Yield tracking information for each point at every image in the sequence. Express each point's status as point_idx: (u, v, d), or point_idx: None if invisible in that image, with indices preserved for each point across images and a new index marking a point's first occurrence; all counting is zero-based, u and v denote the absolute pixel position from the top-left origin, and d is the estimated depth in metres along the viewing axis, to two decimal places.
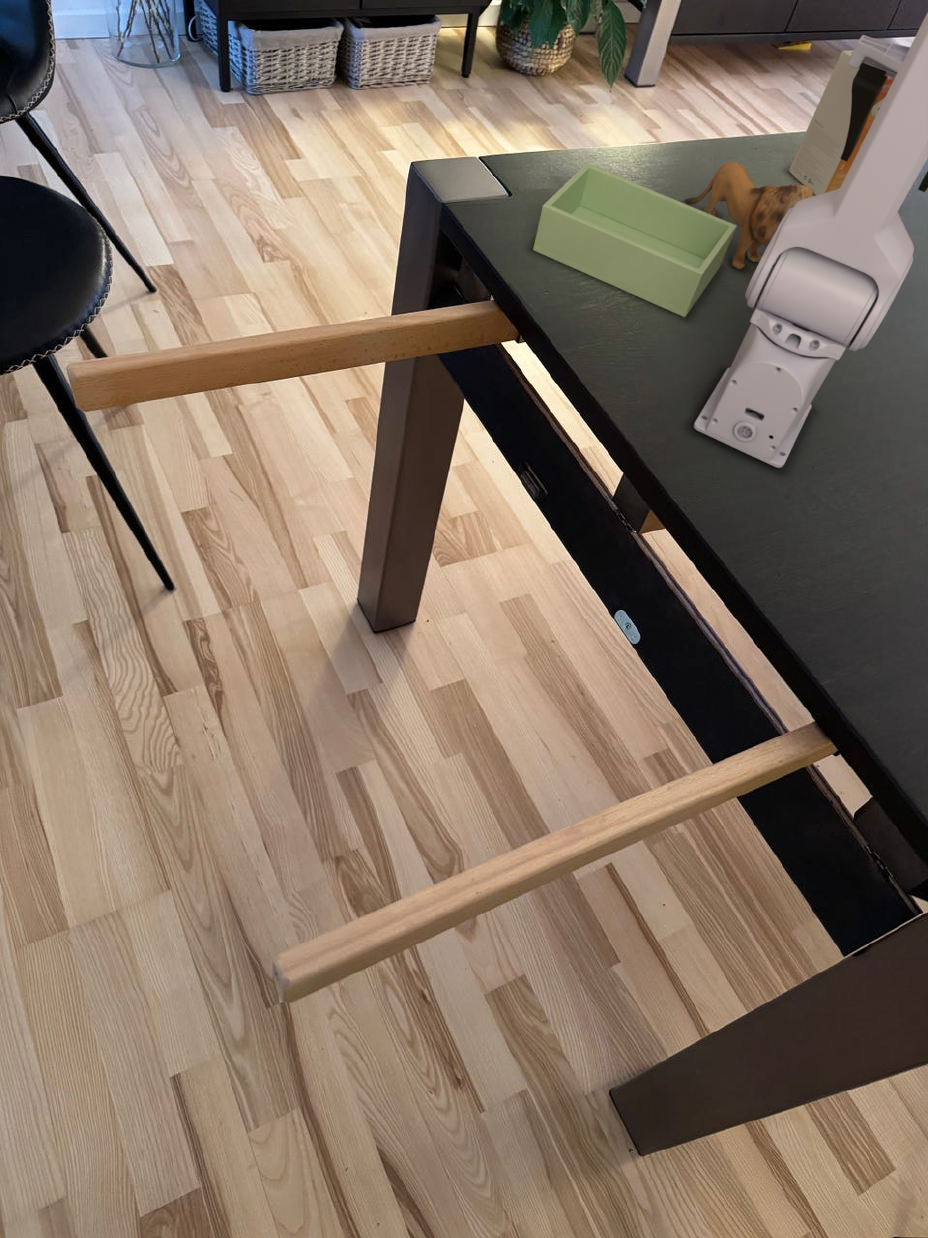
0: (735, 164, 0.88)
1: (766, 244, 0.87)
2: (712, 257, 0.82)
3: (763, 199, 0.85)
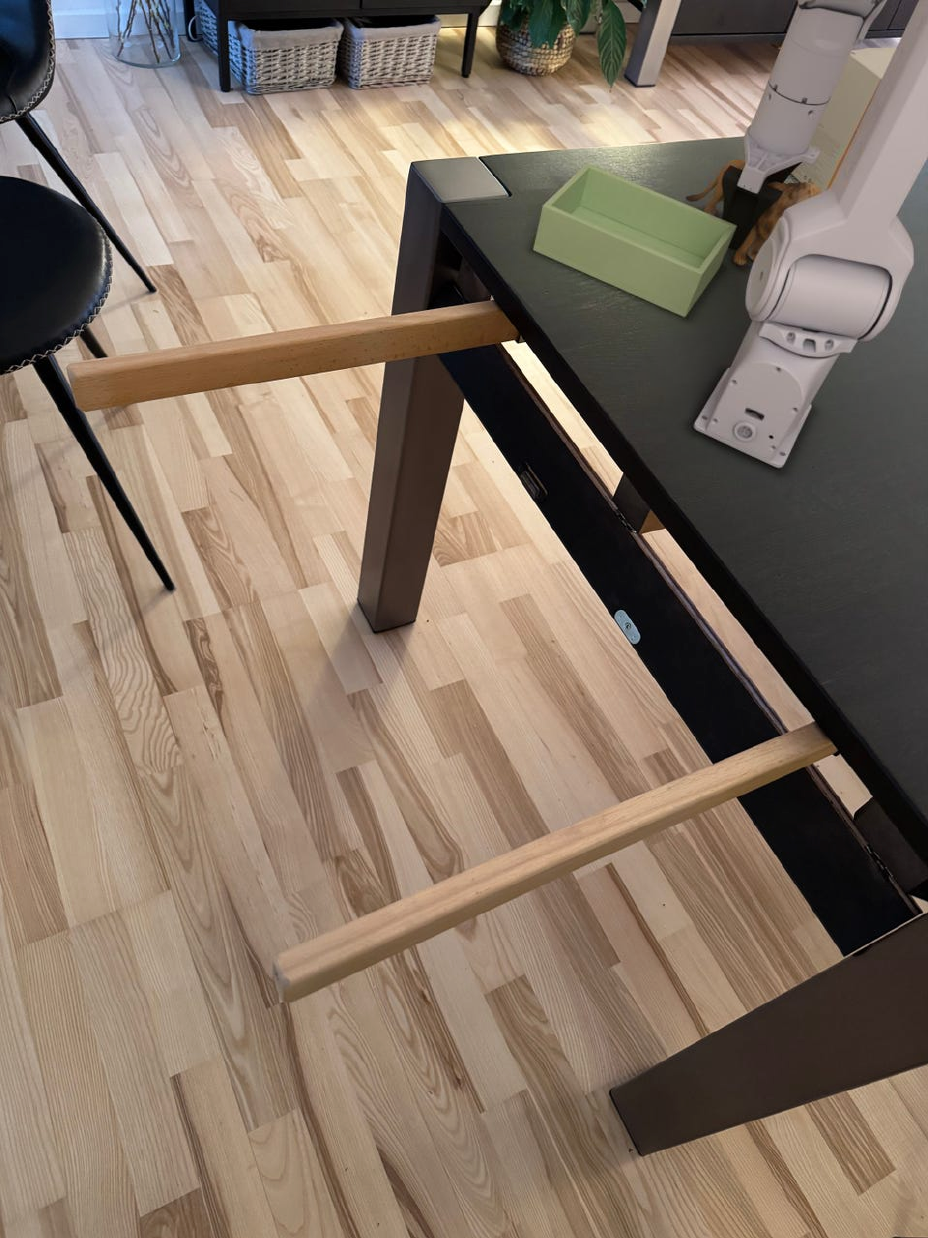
0: (742, 161, 0.88)
1: None
2: (712, 257, 0.82)
3: None
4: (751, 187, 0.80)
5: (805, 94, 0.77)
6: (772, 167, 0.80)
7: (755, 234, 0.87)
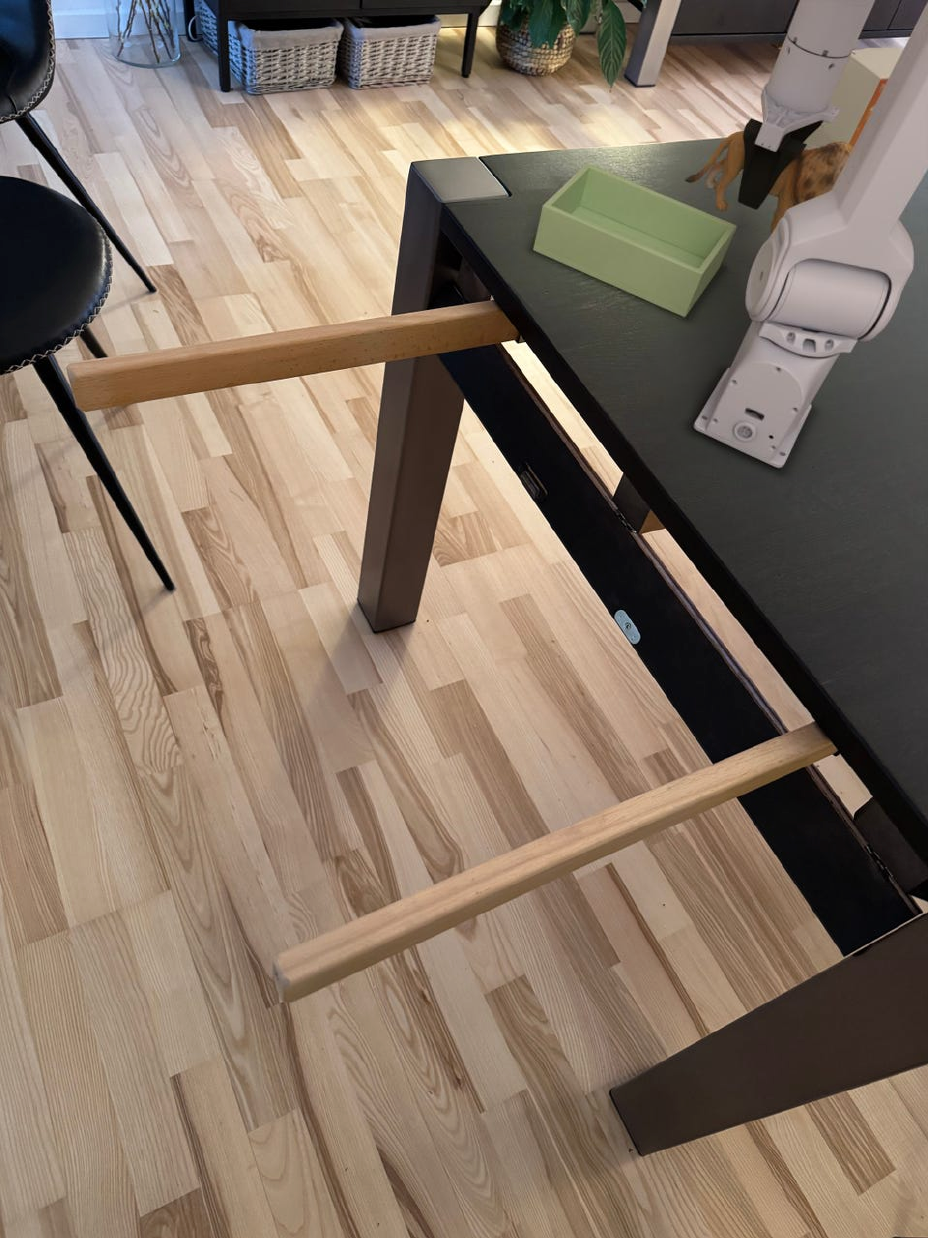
0: None
1: None
2: (712, 257, 0.82)
3: (806, 165, 0.82)
4: (769, 145, 0.77)
5: (826, 46, 0.74)
6: (791, 124, 0.77)
7: None
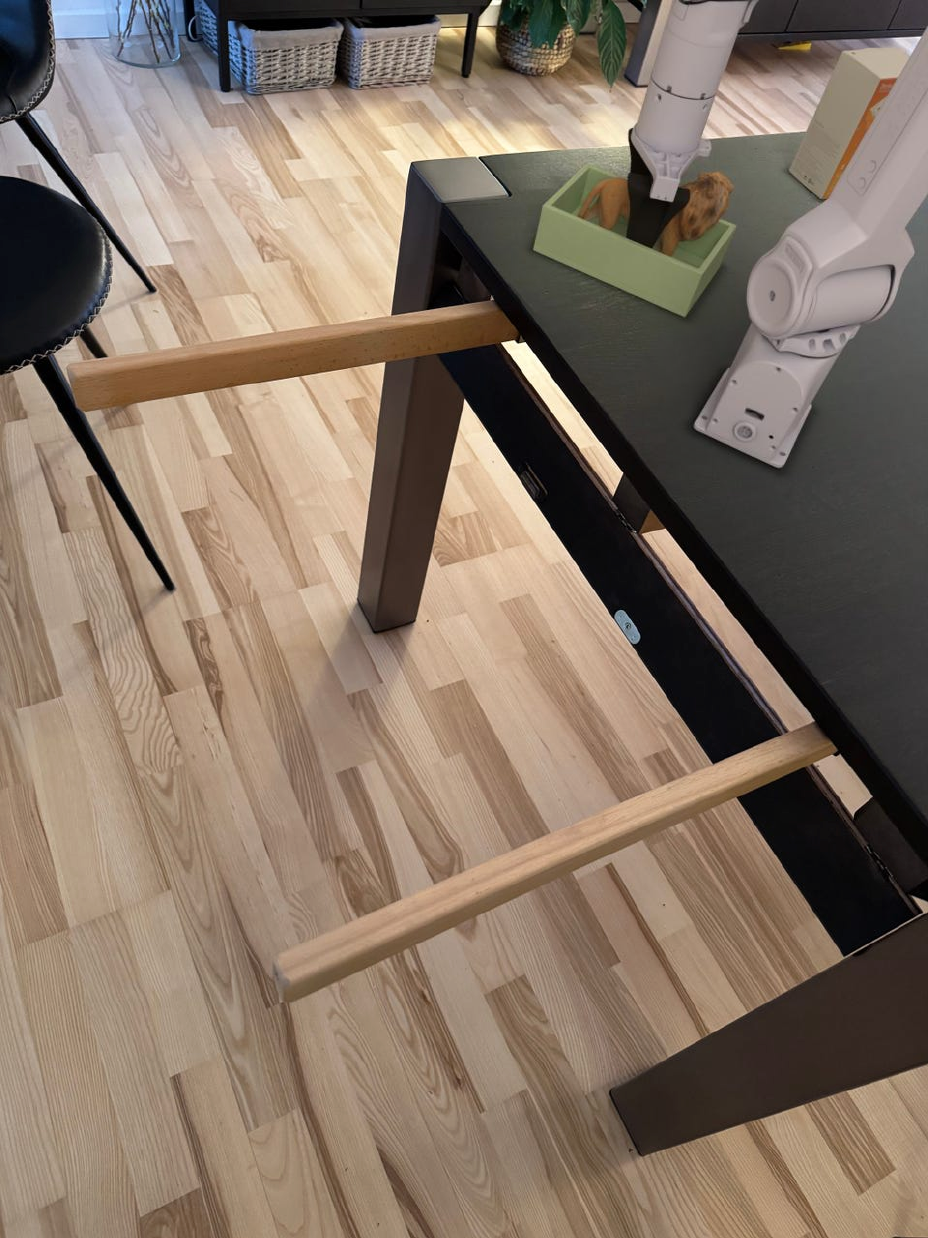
0: (619, 180, 0.82)
1: None
2: (712, 257, 0.82)
3: None
4: (666, 196, 0.75)
5: (703, 90, 0.73)
6: (681, 171, 0.75)
7: (678, 242, 0.84)
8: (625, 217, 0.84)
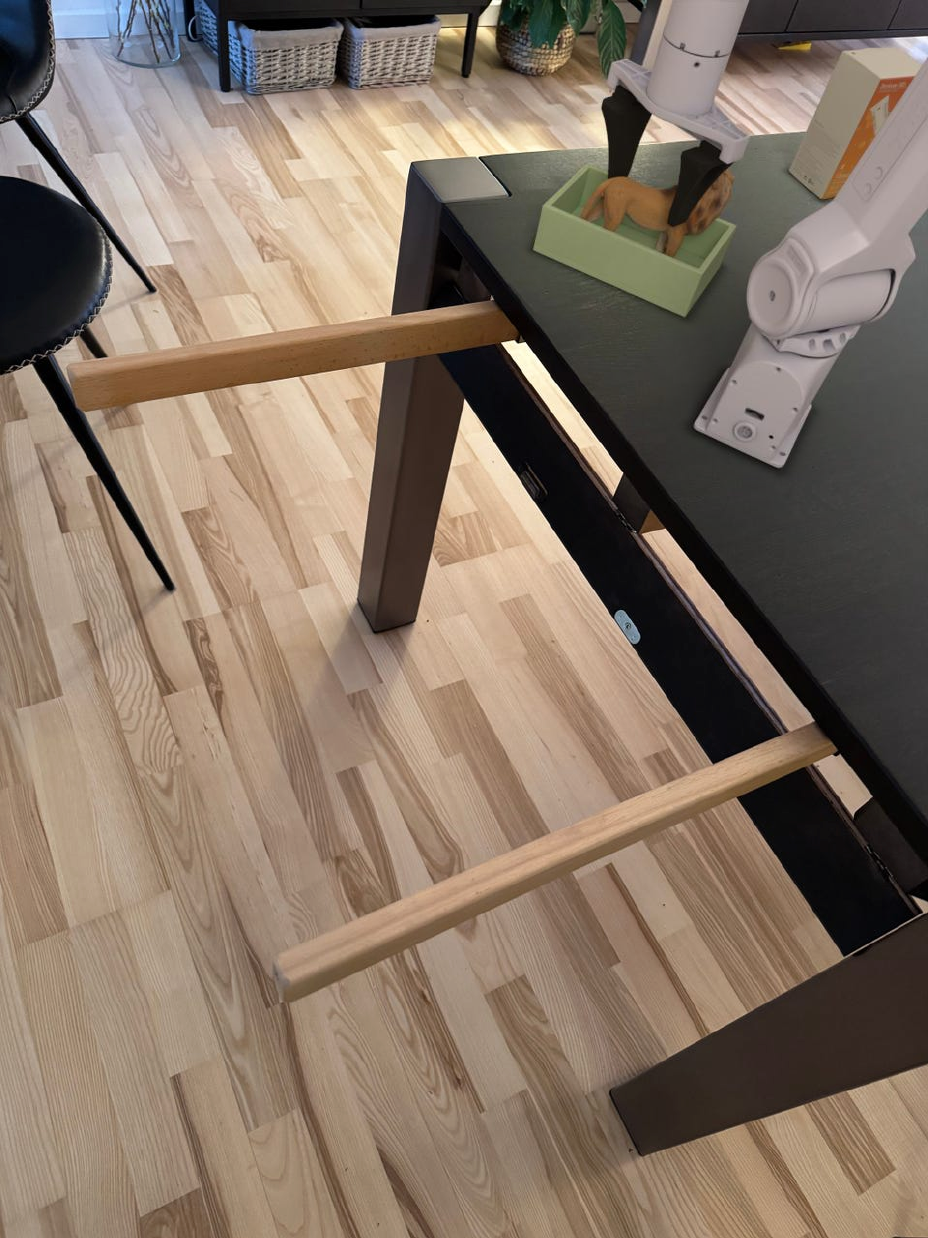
0: (623, 178, 0.82)
1: None
2: (712, 257, 0.82)
3: None
4: (738, 156, 0.74)
5: (718, 47, 0.70)
6: None
7: None
8: (630, 215, 0.83)
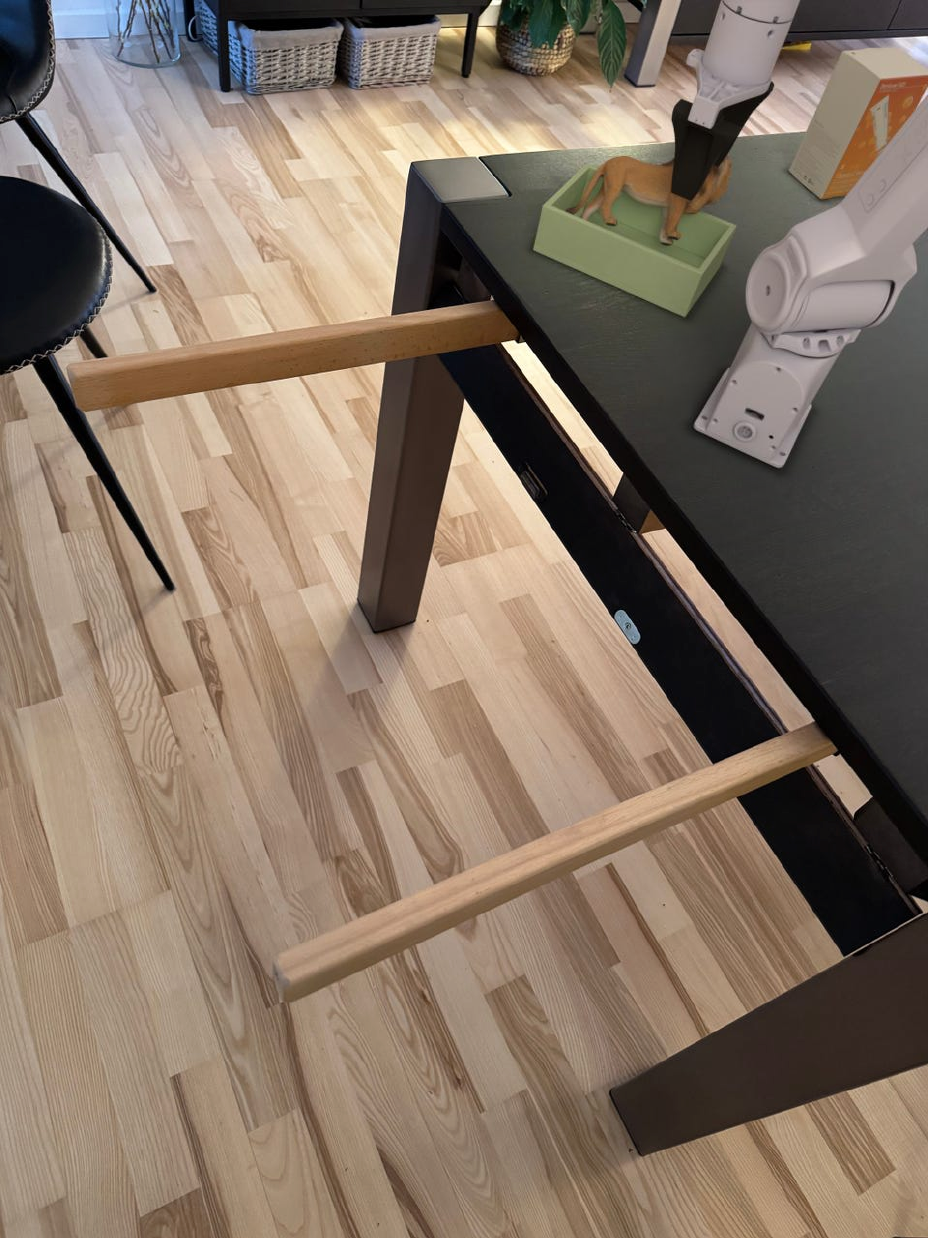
0: None
1: (701, 206, 0.84)
2: (712, 257, 0.82)
3: None
4: None
5: (777, 12, 0.67)
6: None
7: (686, 203, 0.83)
8: (630, 186, 0.84)
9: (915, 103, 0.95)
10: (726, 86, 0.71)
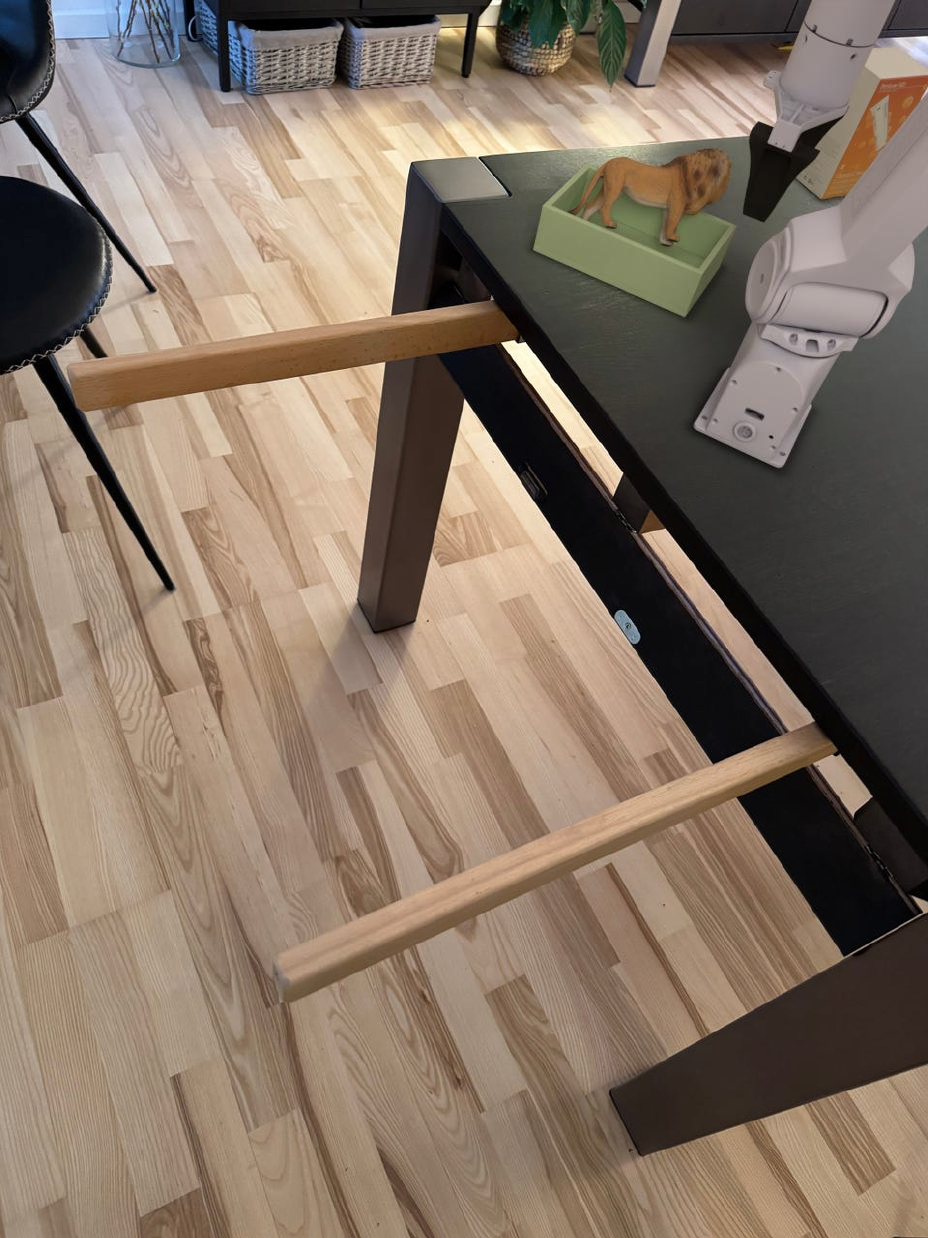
0: None
1: (701, 208, 0.84)
2: (712, 257, 0.82)
3: (690, 161, 0.83)
4: None
5: (851, 34, 0.66)
6: None
7: (685, 205, 0.83)
8: (630, 188, 0.85)
9: (915, 103, 0.95)
10: (806, 109, 0.71)
